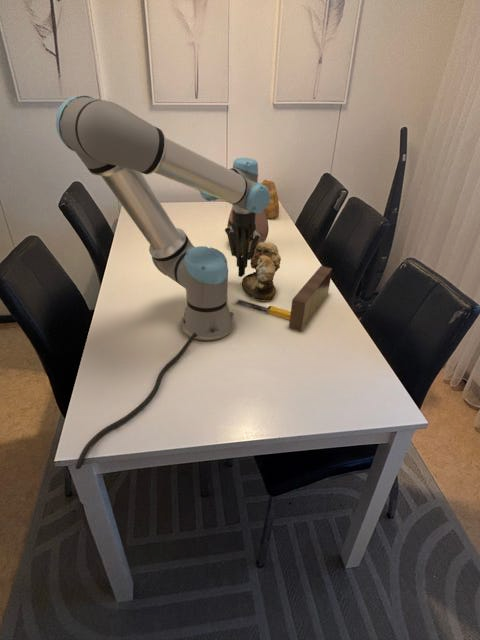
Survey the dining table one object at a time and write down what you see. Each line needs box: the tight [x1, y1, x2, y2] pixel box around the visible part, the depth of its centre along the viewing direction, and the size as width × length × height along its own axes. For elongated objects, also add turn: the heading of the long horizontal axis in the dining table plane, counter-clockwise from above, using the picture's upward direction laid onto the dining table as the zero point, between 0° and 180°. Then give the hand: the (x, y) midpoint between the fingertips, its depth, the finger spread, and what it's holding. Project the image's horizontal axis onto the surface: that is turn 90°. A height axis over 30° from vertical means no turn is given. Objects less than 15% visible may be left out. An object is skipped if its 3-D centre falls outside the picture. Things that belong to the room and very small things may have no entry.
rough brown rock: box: [261, 179, 280, 219], centre depth 202 cm, size 23×17×15 cm
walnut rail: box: [288, 265, 333, 332], centre depth 124 cm, size 26×4×10 cm, turn 152°
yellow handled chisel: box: [235, 299, 291, 321], centre depth 125 cm, size 20×3×2 cm, turn 62°
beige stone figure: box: [241, 241, 282, 302], centre depth 132 cm, size 18×12×17 cm, turn 10°
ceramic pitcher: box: [226, 182, 270, 250], centre depth 163 cm, size 18×21×25 cm
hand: (241, 275), depth 138 cm, fingers closed
